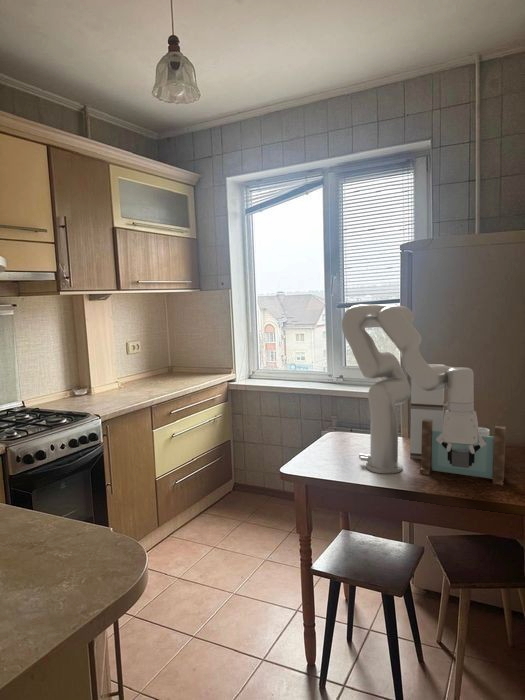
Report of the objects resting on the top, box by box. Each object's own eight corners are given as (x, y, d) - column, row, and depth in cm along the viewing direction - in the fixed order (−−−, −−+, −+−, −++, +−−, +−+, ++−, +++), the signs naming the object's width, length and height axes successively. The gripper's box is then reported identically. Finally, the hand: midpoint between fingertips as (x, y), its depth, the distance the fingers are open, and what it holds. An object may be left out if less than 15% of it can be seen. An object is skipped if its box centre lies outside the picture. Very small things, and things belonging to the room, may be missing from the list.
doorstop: (451, 466, 157) (451, 452, 157) (457, 454, 169) (457, 441, 169) (468, 467, 155) (468, 453, 154) (473, 455, 167) (473, 442, 167)
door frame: (419, 473, 173) (420, 422, 171) (424, 466, 180) (424, 417, 178) (503, 485, 161) (504, 430, 159) (504, 477, 168) (505, 425, 166)
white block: (442, 453, 196) (444, 364, 192) (441, 461, 186) (443, 368, 183) (412, 450, 200) (413, 363, 197) (410, 458, 190) (411, 367, 187)
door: (431, 470, 174) (432, 431, 173) (432, 469, 176) (432, 430, 174) (492, 478, 165) (493, 437, 164) (492, 477, 167) (494, 436, 165)
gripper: (430, 407, 157) (430, 464, 158) (489, 410, 149) (489, 470, 150) (434, 403, 163) (434, 458, 165) (491, 406, 155) (491, 463, 157)
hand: (460, 463), depth 157 cm, fingers closed on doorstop, 5 cm apart
